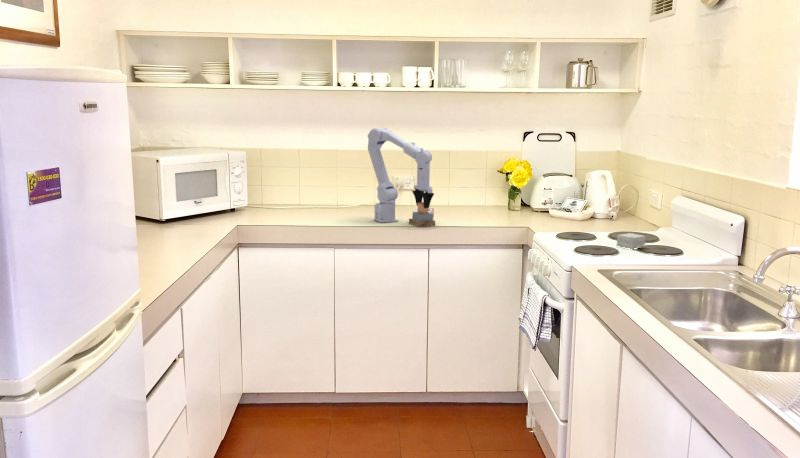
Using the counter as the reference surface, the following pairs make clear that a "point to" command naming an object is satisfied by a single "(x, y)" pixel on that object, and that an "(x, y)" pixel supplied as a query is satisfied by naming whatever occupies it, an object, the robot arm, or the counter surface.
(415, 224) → the walnut slab
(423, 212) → the terracotta cylinder
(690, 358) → the counter surface
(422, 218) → the slate block
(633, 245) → the small box
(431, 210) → the ink box
